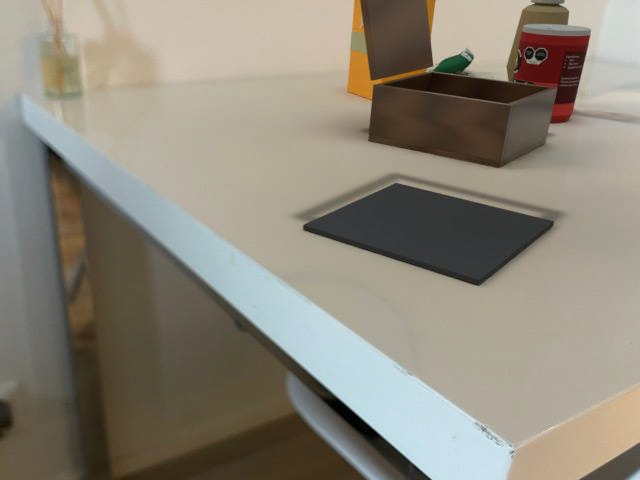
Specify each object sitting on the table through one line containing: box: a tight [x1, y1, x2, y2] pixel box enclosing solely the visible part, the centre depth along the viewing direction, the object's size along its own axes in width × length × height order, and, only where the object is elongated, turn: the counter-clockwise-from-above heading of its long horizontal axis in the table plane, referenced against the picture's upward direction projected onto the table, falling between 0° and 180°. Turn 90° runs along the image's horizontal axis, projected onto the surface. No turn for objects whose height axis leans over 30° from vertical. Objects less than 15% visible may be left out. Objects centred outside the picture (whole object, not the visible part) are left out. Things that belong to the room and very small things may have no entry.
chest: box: [367, 70, 557, 169], centre depth 73 cm, size 15×13×6 cm
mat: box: [302, 182, 555, 286], centre depth 51 cm, size 14×14×1 cm
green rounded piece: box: [432, 46, 475, 75], centre depth 115 cm, size 9×4×6 cm
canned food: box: [512, 24, 592, 123], centre depth 85 cm, size 8×8×11 cm
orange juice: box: [346, 0, 436, 101], centre depth 94 cm, size 8×9×20 cm
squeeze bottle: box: [506, 0, 570, 82], centre depth 98 cm, size 8×8×18 cm
